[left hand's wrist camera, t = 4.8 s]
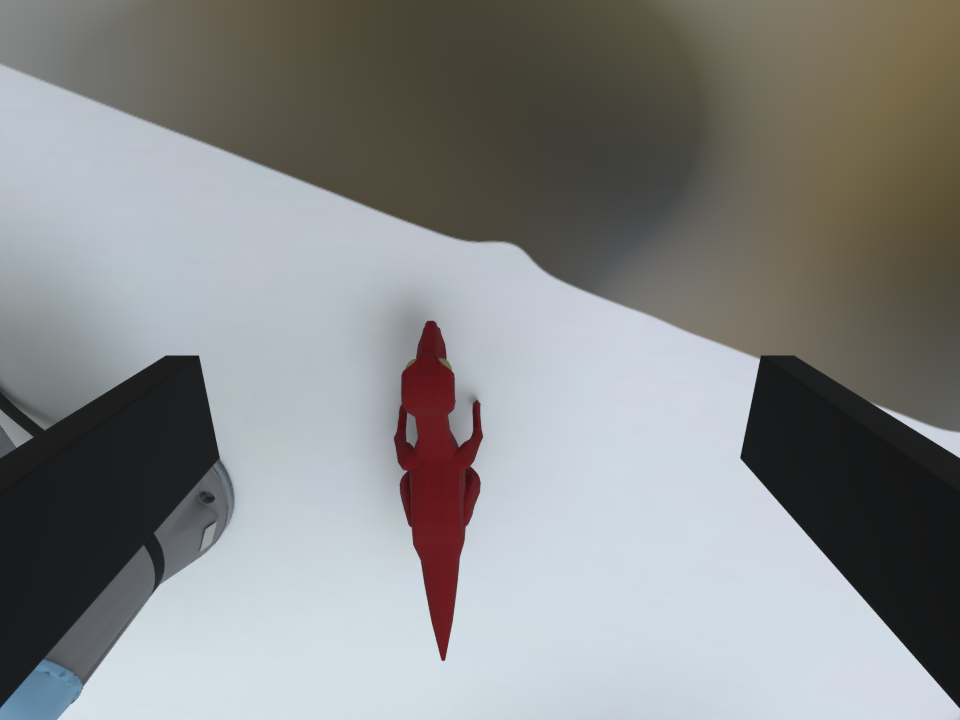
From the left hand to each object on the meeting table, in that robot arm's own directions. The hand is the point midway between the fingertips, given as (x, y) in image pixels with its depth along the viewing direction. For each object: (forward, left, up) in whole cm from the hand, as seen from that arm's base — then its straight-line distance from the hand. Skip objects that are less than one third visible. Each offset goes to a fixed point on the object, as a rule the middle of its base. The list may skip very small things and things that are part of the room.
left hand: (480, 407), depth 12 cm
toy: (+8, -17, -31) cm, 36 cm away
